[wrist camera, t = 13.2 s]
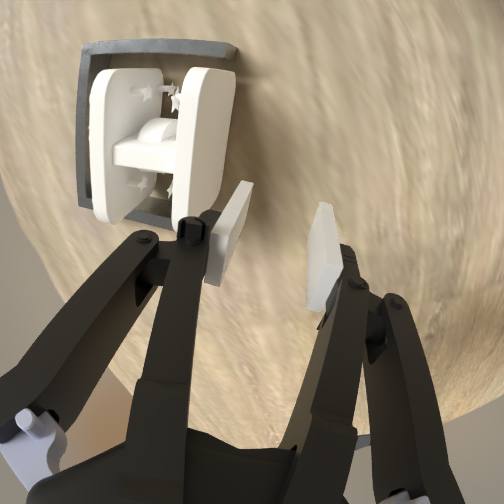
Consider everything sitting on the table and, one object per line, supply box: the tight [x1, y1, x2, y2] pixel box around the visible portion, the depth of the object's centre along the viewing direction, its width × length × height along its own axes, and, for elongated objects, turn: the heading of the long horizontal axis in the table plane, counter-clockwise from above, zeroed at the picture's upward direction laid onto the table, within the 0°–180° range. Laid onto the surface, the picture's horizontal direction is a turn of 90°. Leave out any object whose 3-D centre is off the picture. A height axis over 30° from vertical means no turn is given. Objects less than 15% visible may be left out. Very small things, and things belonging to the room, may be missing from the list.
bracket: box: [76, 39, 237, 231], centre depth 29 cm, size 17×21×4 cm
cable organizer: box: [88, 67, 236, 232], centre depth 25 cm, size 15×11×12 cm
